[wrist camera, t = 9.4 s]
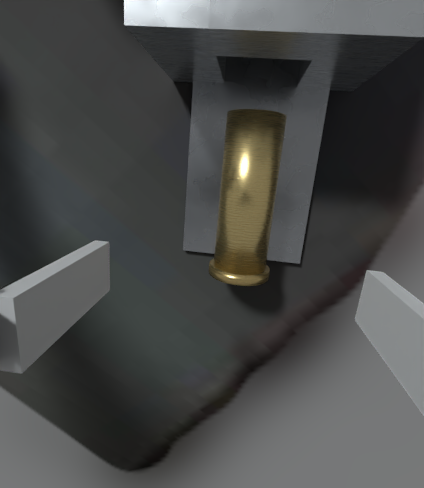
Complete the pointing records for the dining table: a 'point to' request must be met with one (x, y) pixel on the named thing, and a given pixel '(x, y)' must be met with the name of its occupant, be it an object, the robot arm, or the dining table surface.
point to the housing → (267, 85)
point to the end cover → (247, 195)
